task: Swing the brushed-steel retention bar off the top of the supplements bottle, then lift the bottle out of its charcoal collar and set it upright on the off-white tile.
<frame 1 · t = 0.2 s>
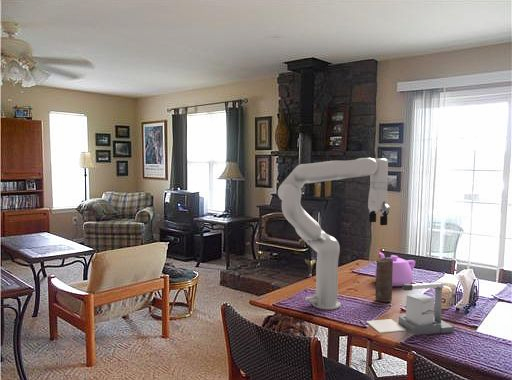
hand: (378, 223, 185), 36 cm above the table, tool pointing down, fingers open, 9 cm apart
tile pad: (385, 326, 159), on the table
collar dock: (419, 327, 158), on the table
retention bar: (423, 286, 157), point 17 cm above the table, hinge at 0.0°
kettle: (392, 283, 217), on the table
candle: (383, 301, 189), on the table
supplement box: (419, 328, 158), resting in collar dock
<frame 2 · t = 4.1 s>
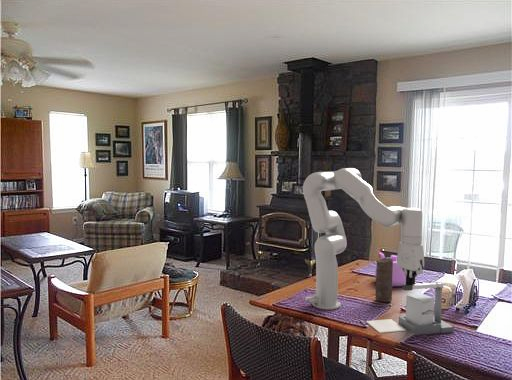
hand: (410, 286, 159), 16 cm above the table, tool pointing down, fingers closed
retention bar: (423, 286, 157), point 17 cm above the table, hinge at 0.1°, touching gripper
everything else where it was.
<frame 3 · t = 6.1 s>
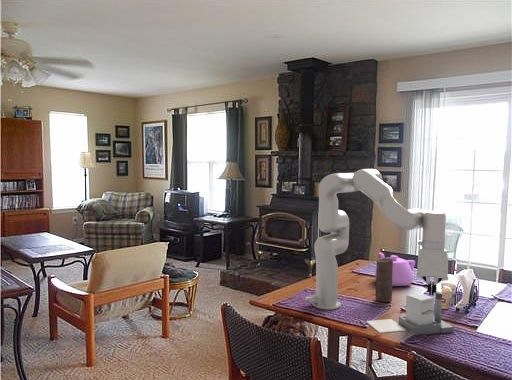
hand: (431, 294, 150), 16 cm above the table, tool pointing down, fingers closed
retention bar: (438, 289, 152), point 17 cm above the table, hinge at 54.6°, touching gripper
everything else where it was.
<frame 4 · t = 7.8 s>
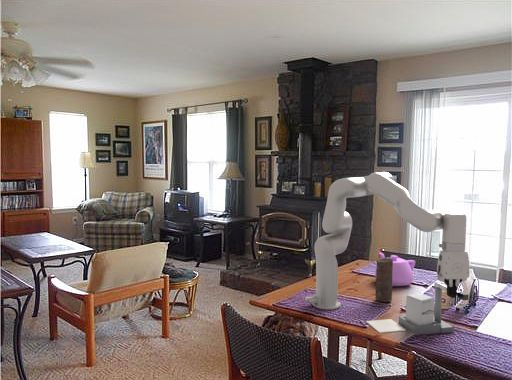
hand: (451, 296, 147), 16 cm above the table, tool pointing down, fingers closed
retention bar: (450, 290, 152), point 17 cm above the table, hinge at 90.1°, touching gripper
everything else where it was.
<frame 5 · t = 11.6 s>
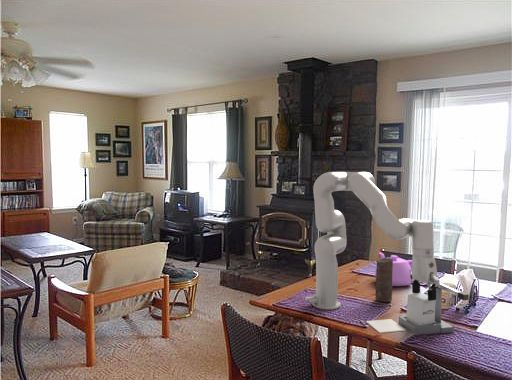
hand: (423, 296, 157), 13 cm above the table, tool pointing down, fingers open, 9 cm apart
retention bar: (450, 290, 152), point 17 cm above the table, hinge at 90.3°
supplement box: (419, 328, 158), resting in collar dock, touching gripper
everything else where it was.
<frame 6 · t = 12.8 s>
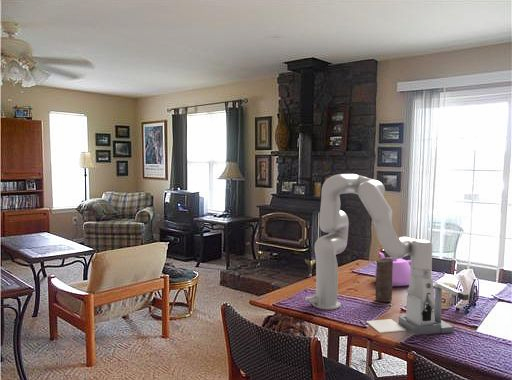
hand: (419, 316, 158), 5 cm above the table, tool pointing down, fingers closed on supplement box, 8 cm apart
supplement box: (419, 328, 158), resting in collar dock, touching gripper
everything else where it was.
when the fingers open (6 cm above the table, at t = 18.9 s): supplement box drops 1 cm, resting on tile pad.
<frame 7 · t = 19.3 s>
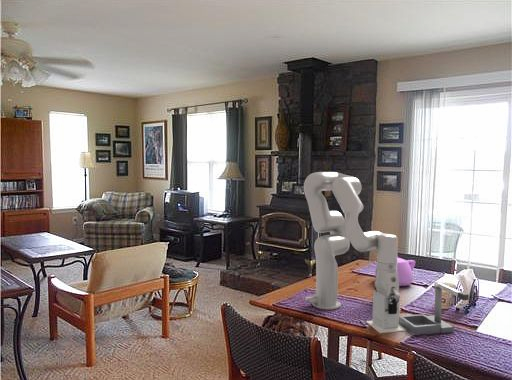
hand: (385, 309, 159), 7 cm above the table, tool pointing down, fingers open, 9 cm apart
supplement box: (385, 325, 160), resting on tile pad
everything else where it was.
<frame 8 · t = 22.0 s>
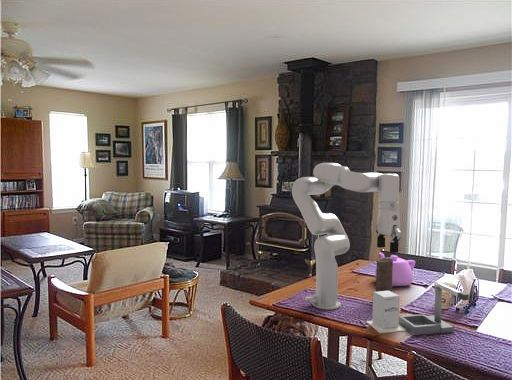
hand: (387, 249, 157), 30 cm above the table, tool pointing down, fingers open, 9 cm apart
nothing on the table moved.
at the end: retention bar at +90° (first picture: +0°); supplement box inside the target area (0.3 cm from its centre), resting on tile pad; supplement box tilted 0° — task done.
